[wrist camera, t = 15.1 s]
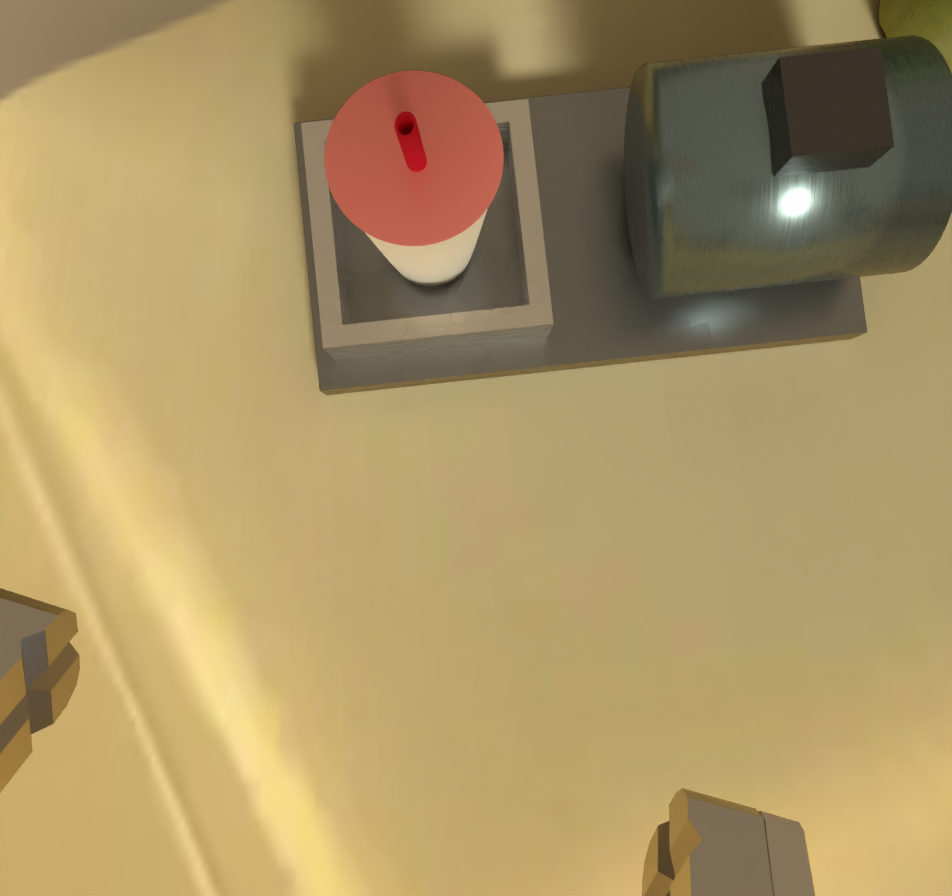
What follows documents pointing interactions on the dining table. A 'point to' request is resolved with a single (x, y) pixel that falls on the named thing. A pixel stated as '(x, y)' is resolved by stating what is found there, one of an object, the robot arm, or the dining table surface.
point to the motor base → (657, 220)
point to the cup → (416, 170)
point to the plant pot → (919, 22)
